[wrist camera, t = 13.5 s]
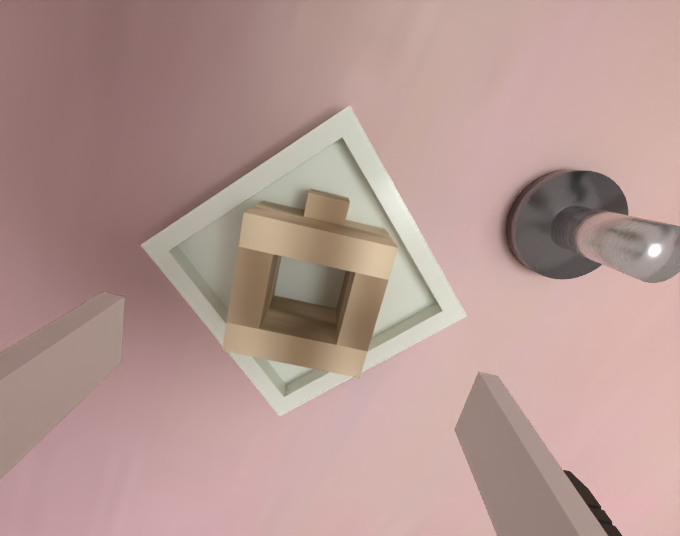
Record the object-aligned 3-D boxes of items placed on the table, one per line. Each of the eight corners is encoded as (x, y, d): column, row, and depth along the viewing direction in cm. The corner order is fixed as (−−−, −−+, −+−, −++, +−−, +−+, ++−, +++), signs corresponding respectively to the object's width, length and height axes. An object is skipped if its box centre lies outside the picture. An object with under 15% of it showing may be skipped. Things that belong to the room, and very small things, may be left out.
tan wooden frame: (243, 313, 25) (222, 350, 20) (267, 178, 22) (248, 184, 17) (355, 336, 26) (359, 378, 21) (391, 207, 23) (405, 221, 18)
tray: (158, 236, 24) (140, 244, 22) (348, 110, 22) (349, 105, 20) (284, 395, 28) (279, 416, 26) (455, 301, 26) (467, 316, 24)
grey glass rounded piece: (489, 206, 24) (562, 230, 16) (590, 148, 23) (718, 144, 15) (530, 289, 26) (612, 346, 18) (624, 239, 25) (754, 277, 17)
